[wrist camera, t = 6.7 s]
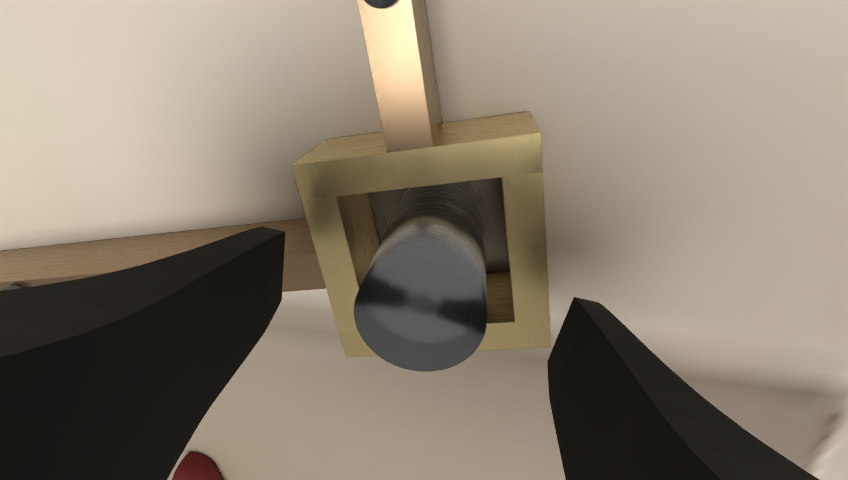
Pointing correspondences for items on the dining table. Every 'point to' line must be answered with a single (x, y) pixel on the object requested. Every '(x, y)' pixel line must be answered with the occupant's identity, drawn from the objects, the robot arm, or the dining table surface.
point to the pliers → (197, 468)
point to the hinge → (349, 202)
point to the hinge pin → (427, 281)
